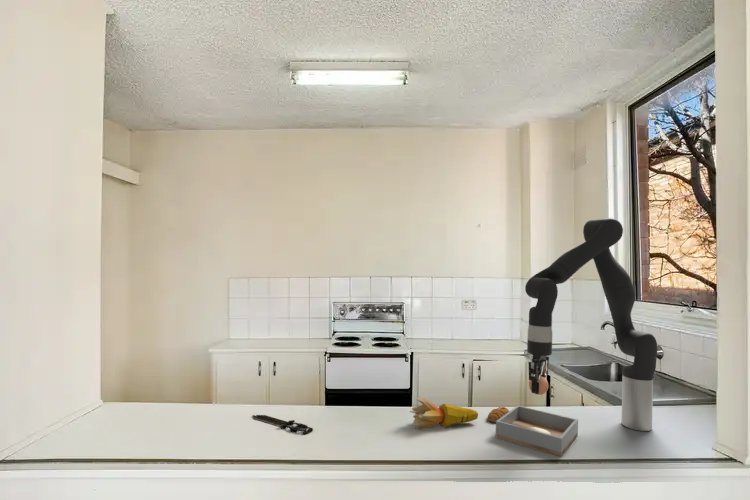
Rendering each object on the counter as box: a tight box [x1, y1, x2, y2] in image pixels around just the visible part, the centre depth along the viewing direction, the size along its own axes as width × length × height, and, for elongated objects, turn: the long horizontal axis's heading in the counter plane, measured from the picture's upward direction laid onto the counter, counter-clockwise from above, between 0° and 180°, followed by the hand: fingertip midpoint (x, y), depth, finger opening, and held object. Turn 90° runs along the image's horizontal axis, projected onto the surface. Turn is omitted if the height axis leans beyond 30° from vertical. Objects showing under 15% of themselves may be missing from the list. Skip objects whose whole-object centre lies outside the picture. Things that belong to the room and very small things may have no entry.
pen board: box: [495, 418, 579, 457], centre depth 140 cm, size 20×20×1 cm
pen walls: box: [495, 404, 579, 453], centre depth 140 cm, size 20×20×4 cm
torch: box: [408, 397, 479, 430], centre depth 148 cm, size 8×8×25 cm
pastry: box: [487, 406, 510, 424], centre depth 154 cm, size 9×7×4 cm
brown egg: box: [528, 375, 549, 396], centre depth 141 cm, size 6×6×6 cm
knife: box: [251, 414, 314, 436], centre depth 145 cm, size 25×6×1 cm, turn 54°
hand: (538, 390), depth 141 cm, fingers closed on brown egg, 6 cm apart
